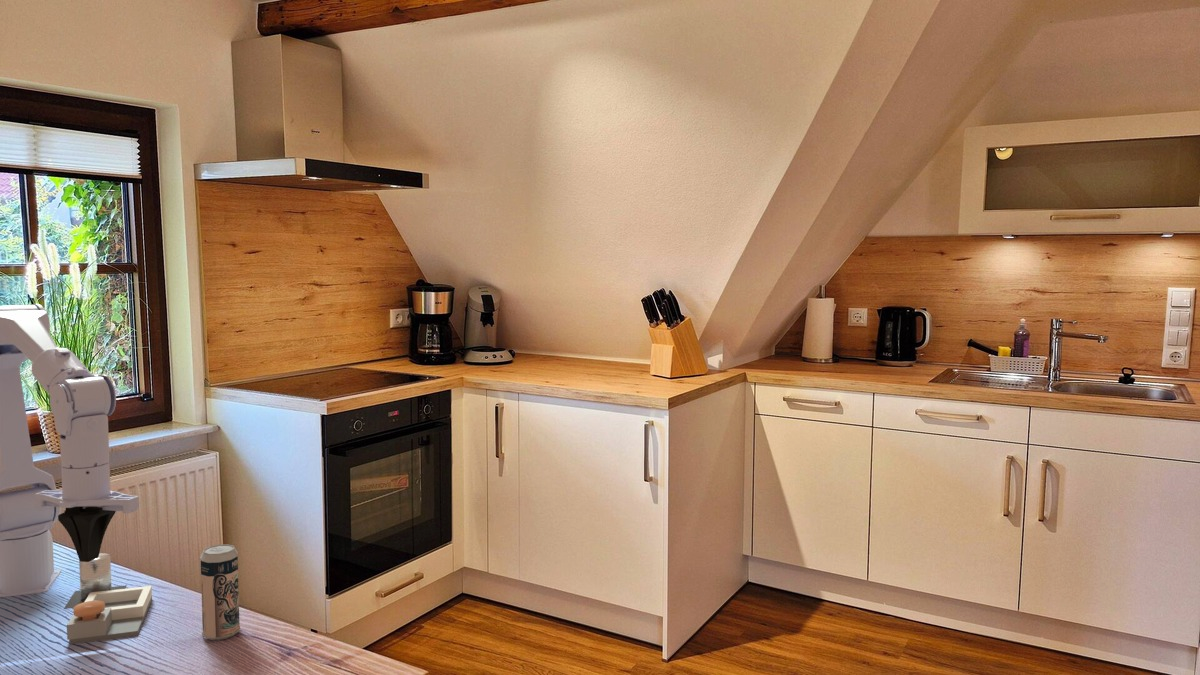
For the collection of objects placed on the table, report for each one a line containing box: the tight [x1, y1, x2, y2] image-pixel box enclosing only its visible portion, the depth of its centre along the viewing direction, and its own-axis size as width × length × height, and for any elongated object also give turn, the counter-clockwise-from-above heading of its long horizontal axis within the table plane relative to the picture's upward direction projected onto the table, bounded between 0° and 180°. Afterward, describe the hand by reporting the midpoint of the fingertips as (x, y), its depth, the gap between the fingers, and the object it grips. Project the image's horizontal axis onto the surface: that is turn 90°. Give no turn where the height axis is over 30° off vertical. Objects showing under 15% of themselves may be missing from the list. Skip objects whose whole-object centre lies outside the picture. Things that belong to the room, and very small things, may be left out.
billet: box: [78, 552, 112, 601], centre depth 126 cm, size 4×4×6 cm
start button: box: [72, 600, 105, 620], centre depth 113 cm, size 4×4×3 cm
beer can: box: [199, 544, 241, 641], centre depth 114 cm, size 5×5×12 cm
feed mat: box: [63, 584, 128, 610], centre depth 126 cm, size 7×7×1 cm
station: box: [66, 585, 153, 645], centre depth 118 cm, size 13×8×3 cm, turn 21°
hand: (89, 559), depth 117 cm, fingers closed
